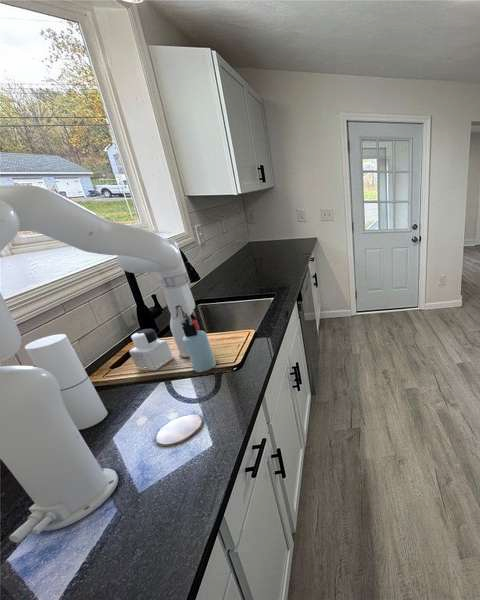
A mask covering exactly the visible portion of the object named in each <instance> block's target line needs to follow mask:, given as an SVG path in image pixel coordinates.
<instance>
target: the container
mask: <svg viewBox="0 0 480 600" xmlns="http://www.w3.org/2000/svg"><path fill="white" fill-rule="evenodd" d="M130 338H131V340H132V343H133V345H134V347H133V348H131V349H130V350H129V351H128V352H129V354H130V357H131V359H132V361H133V363H134V365H135V368H136V367H147V368H136V370H140V371H141V370H142V371H158V370H159V369H160V368H162V367H163V366H164V365H166V364H167V363H169V362H171V361H172V360H173V359H174V355H173V353H172V351H171V349H170V346H169V343H168V340H166V339H159V337H158V335H157V333H156V330H155V329H153V328H144V329H140V330H138V331H136V332H134V333H133V334H132V335H131V336H130ZM166 360H167V361H166ZM163 362H164V363H163ZM161 363H162V364H161ZM160 364H161V365H160ZM157 366H158V367H157Z"/></svg>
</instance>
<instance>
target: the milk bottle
mask: <svg viewBox="0 0 480 600" xmlns="http://www.w3.org/2000/svg"><path fill="white" fill-rule="evenodd" d="M167 309H168V312H170V310H169V307H168V306H167ZM185 319H186V318H185ZM169 320H170V321H169V328H170V332H171V335H172V337H173V340H174V342H175V345H176V347H177V350H178V353H179V355H180V357H182V358H190V357H189V354H188V352H187V349H186V346H185V344H184V341H183V338H184V336H185V333H184V330H183V328H182V326H181V323H179V319H178V316H177V318H176V319H173V318H172V316H171V315H170V319H169ZM187 320H188V319H187Z"/></svg>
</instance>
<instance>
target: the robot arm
mask: <svg viewBox="0 0 480 600" xmlns="http://www.w3.org/2000/svg"><path fill="white" fill-rule="evenodd" d="M19 232H35V233H38V234H41V235H42V236H46V237H48V238H51V239H53V240H55V241H58V242H60V243H63V244H65V245H68V246H71V247H73V248H75V249H78V250H80V251H82V252H86V253H90V254H97V255H106V256H116V262H117V265H118V267H119V268H120V269H122V270H123V271H125V272H127V273H132V274H146V273H147V274H149V273H155V275H156V278H157V280H158V283H159V285H160V288H161V289H163V292H164V297H165V300H166V303H167V308H168V307H169V309H168V311H169V310H170V311H169V313H170V317H171V316H172V318H173V319H176V318H177V316H178V319H179V323H181V326H182V328H183V330H184V333H185V336H186V337H191V336H195V335H197V331H196V328H195V325H194V323H193V324H192V320H191V319H196V320H197V323H198V325H199V328H200V329H201V326H200V324H199V320H198V318H197V314H196V312H195V309H196V302H195V299H194V297H193V293H192V290H191V288H190V286H189V284H190V283H191V279H190V277H189V274H188V271H187V268H186V265H185V263H184V260H183V257H182V254H181V250H180V248H179V245H178V242H177V241H176V240H175V239H173V238H163V237H162V236H160V235H158V234H156V233H153V232H151V231H148V230H145V229H141V228H139V227H134V226H131V225H129V224H128V225H127V224H124V223H121V222H117V221H113V220H109V219H106V218H104V217H102V216H100V215H99V214H96V213H95V212H93V211H91V210H89V209H87V208H85V207H84V206H82V205H81V204H78V203H76V202H74V201H73V200H70V199H68V198H67V197H65V196H63V195H61V194H59V193H57V192H55V191H54V190H52V189H49V188H47V187H45V186H41V185H36V184H12V185H0V253H2V251H3V250H4V249H5V247H6V246H8V244H10V243H11V242H12V241H13V240H14V239H15V237H16V236H17V235H18V233H19ZM185 318H186V319H185ZM187 319H188V320H189V321H188V320H187ZM21 345H22V335H21V332H20V329H19V327H18V325H17V323H16V321H15V319H14V317H13V315H12V313H11V311H10V308H9V307H8V305H7V303H6V300H5V299H4V297H3V295H2V293H1V292H0V362H4V361H6V360H8V359H10V358H11V357H13V356H14V355H16V354H17V353H18V352H19V350H20V348H21ZM0 460H1V461H2V463H3V464H4V466H6V467H7V469H8V470H9V472H10V473H11V474H12V475H13V477H14V479H16V481H17V482H18V483H19V485H20V486H21V487H22V488H23V490H24V491H25V493H26V494H27V495H28V496H29V498H30V499H31V500H32V501H33V503H32V505H31V506H29V508H28V510H29V512H30V513H31V514H30V515H29V516H27V520H26V521H25V522H24V523H23V524H21V525H20V526H19V527H18V528H16V530H14V532H13V533H11V534H10V535H9V536H8V539H9V540H10V541H11V542H12V543H16V544H17V543H21V542H22V541H23V540H24V539H26V537H27V536H28V535H29V534H30V533H33V534H34V535H39V534H41V533H42V531H47V532H49V531H54V530H59V529H62V528H65V527H68V526H70V525H72V524H74V523H77V522H78V521H80V520H82V519H83V518H85V517H87V516H89V515H90V514H91V513H93V512H94V511H95V510H96V509H98V508H99V507H100V506H101V505H103V504H104V503H105V502H106V501H107V499H109V497H111V495H112V494H113V492H114V491H115V489H116V487H118V483H119V476H118V474H117V472H116V471H115V469H111V468H107V467H104V468H102V467H101V466H100V464H99V462H98V461H97V459H96V458H95V456H94V454H93V453H92V451H91V449H90V447H89V445H88V444H87V443H86V441H85V439H84V437H83V435H82V434H81V432H80V431H79V430H78V429H77V428H76V426H75V424H74V423H73V421H72V419H71V418H70V416H69V414H68V412H67V410H66V408H65V405H64V403H63V400H62V396H61V391H60V387H59V384H58V381H57V379H56V378H55V377H54V376H53V375H52V374H51V373H50V372H48V371H46V370H44V369H41V368H38V367H36V366H32V365H5V366H3V365H2V366H0Z"/></svg>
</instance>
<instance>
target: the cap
mask: <svg viewBox="0 0 480 600" xmlns="http://www.w3.org/2000/svg"><path fill="white" fill-rule="evenodd" d="M191 320H192V324H193V323H194V325H195V328H196V331H198V330H201V327H200V328H199V326H200V324H199V325H198V323H199V322H198V323H197V320H198V319H197V320H196V319H191ZM188 321H189V320H188Z"/></svg>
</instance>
